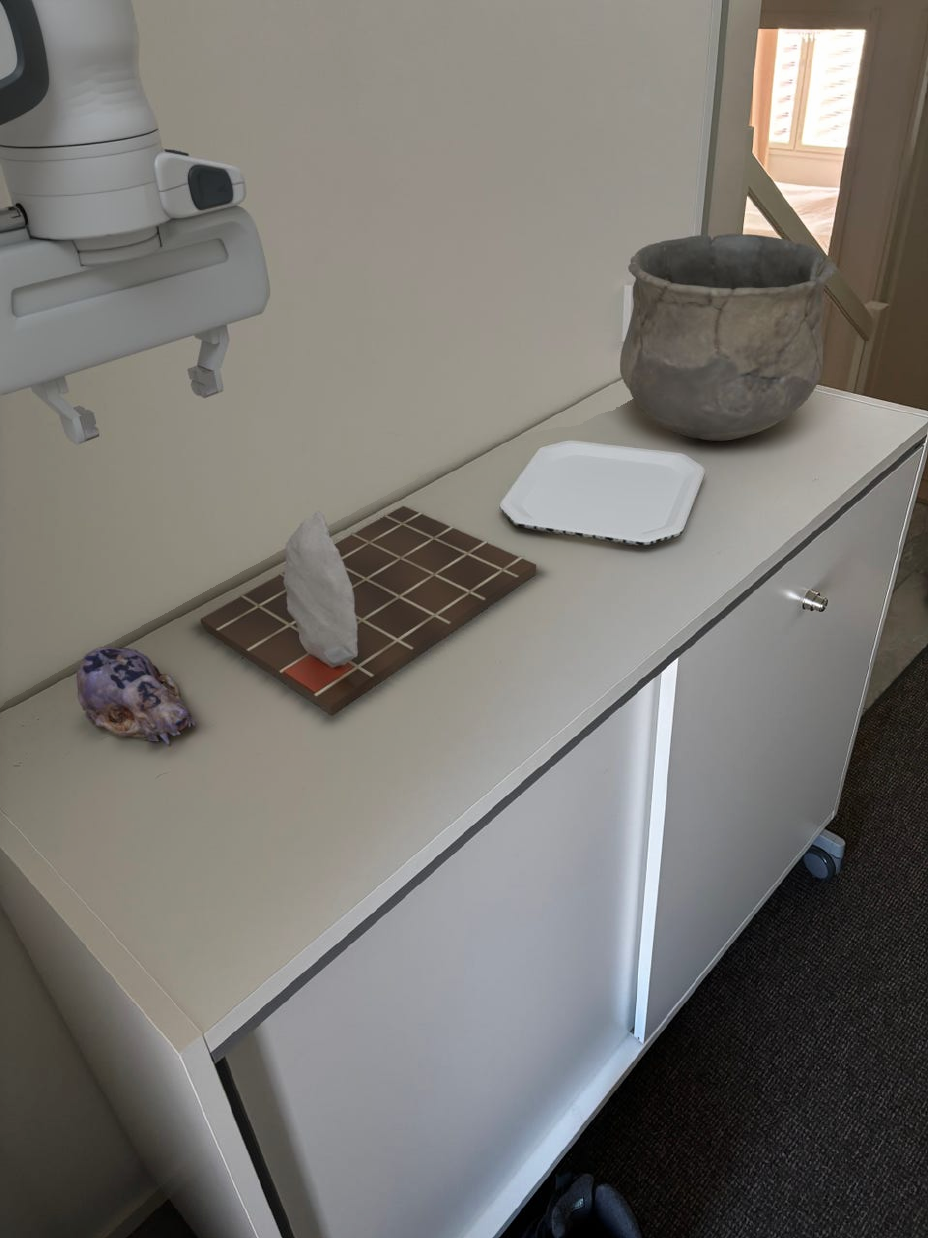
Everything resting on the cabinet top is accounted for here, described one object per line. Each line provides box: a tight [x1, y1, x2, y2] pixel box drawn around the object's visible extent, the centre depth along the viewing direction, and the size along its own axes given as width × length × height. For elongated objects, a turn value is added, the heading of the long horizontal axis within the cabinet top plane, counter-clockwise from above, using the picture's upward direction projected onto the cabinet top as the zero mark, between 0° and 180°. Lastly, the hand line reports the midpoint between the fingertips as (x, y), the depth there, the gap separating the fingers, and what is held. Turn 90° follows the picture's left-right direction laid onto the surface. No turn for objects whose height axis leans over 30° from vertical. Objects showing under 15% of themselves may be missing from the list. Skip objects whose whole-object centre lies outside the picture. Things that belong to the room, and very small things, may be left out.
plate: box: [499, 439, 706, 546], centre depth 106 cm, size 21×21×2 cm
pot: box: [619, 233, 838, 442], centre depth 115 cm, size 25×24×21 cm
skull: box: [75, 646, 196, 745], centre depth 80 cm, size 12×8×6 cm, turn 45°
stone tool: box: [283, 510, 358, 668], centre depth 80 cm, size 9×3×15 cm, turn 56°
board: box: [200, 505, 537, 716], centre depth 93 cm, size 28×20×1 cm
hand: (149, 415), depth 61 cm, fingers open, 8 cm apart
